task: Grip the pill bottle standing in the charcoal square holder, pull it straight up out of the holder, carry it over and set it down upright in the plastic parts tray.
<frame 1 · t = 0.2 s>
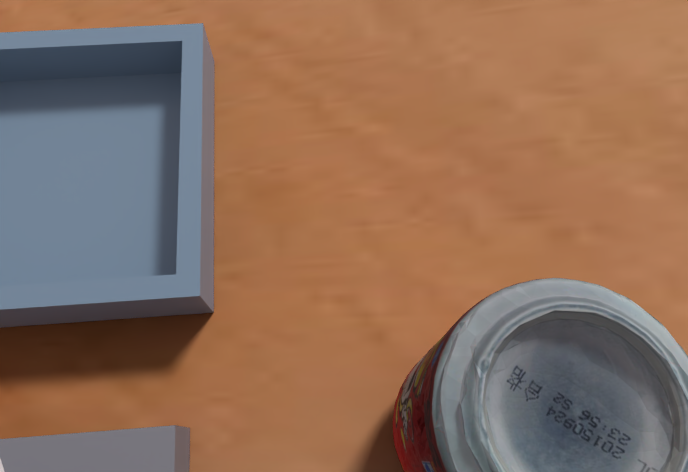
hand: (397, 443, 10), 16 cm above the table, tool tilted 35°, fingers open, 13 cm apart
parts tray: (72, 184, 29), on the table
soda can: (467, 430, 25), on the table
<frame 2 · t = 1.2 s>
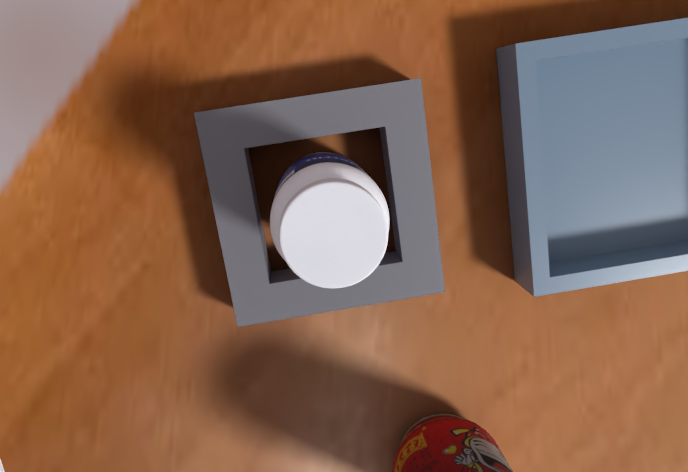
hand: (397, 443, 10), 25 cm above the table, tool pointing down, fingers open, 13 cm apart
parts tray: (619, 152, 35), on the table
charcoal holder: (323, 199, 34), on the table
soda can: (439, 449, 39), on the table
pill bottle: (323, 198, 34), resting in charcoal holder
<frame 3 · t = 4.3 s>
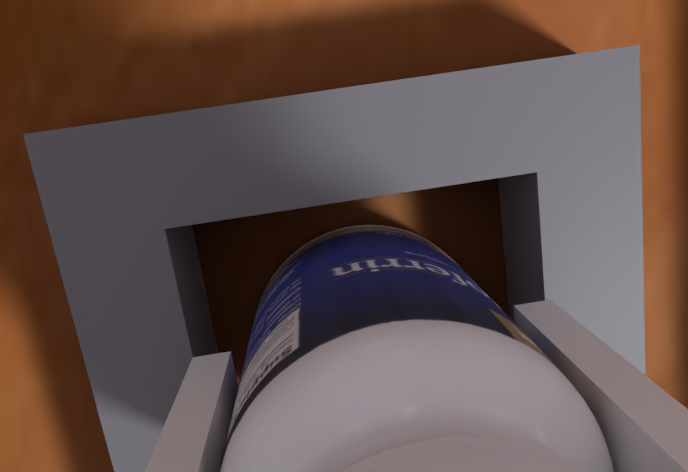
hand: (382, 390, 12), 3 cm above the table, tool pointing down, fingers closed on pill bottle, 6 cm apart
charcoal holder: (364, 327, 15), on the table
pill bottle: (363, 324, 15), resting in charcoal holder, touching gripper
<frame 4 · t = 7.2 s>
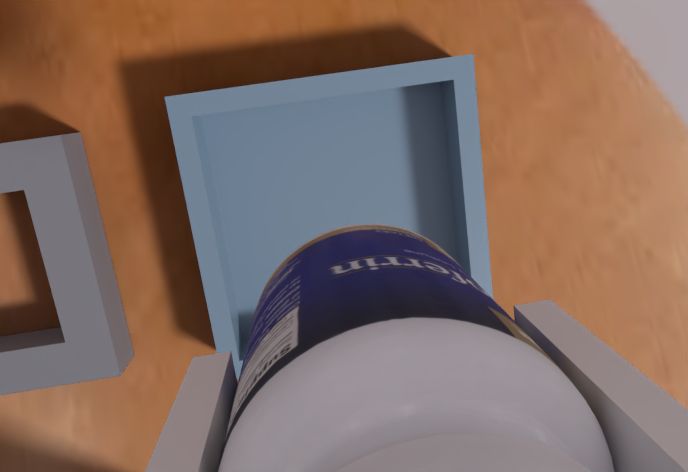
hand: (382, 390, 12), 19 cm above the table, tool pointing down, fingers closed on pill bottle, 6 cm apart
parts tray: (337, 214, 30), on the table
pill bottle: (363, 322, 15), point 16 cm above the table, touching gripper
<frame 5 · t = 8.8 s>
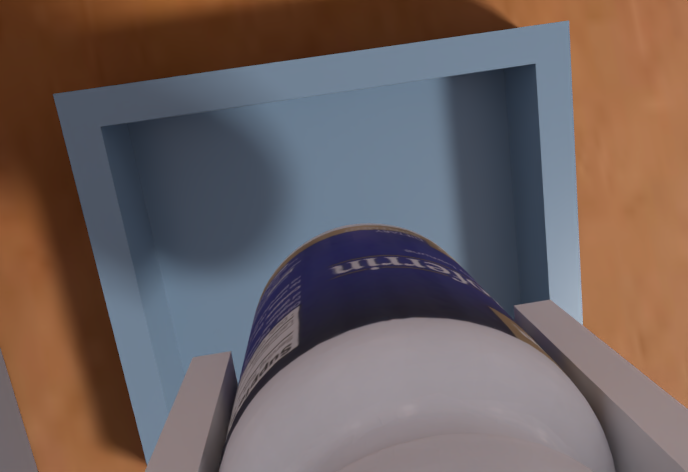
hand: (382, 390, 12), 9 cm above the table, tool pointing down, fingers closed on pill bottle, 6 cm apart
parts tray: (343, 271, 20), on the table
pill bottle: (363, 322, 15), point 5 cm above the table, touching gripper
when the fingers open (5 cm above the table, at t = 10.1 s): pill bottle drops 1 cm, resting on parts tray.
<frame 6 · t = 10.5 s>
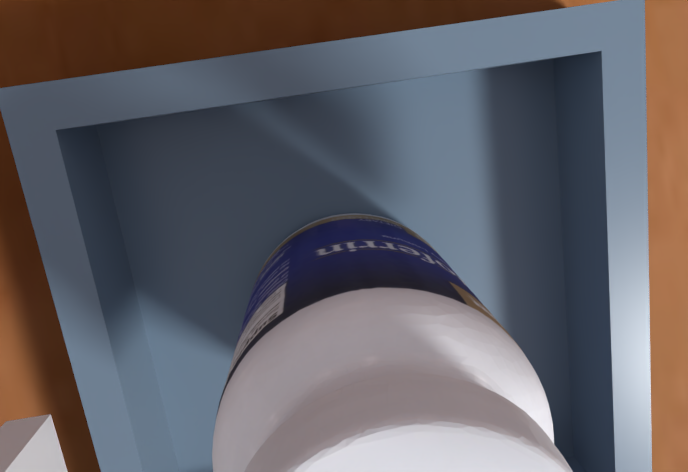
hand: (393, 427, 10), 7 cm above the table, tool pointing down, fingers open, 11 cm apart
parts tray: (357, 301, 17), on the table
pill bottle: (350, 304, 17), resting on parts tray
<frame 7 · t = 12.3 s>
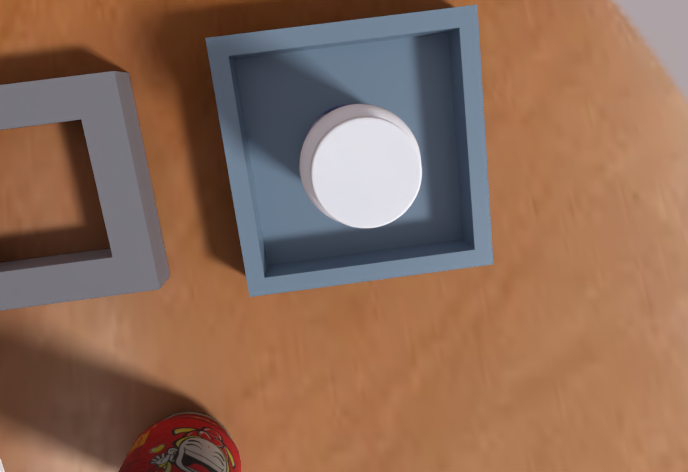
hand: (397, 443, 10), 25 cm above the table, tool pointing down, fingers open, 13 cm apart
parts tray: (353, 152, 34), on the table
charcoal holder: (47, 191, 33), on the table
soda can: (191, 448, 38), on the table
pill bottle: (350, 152, 34), resting on parts tray
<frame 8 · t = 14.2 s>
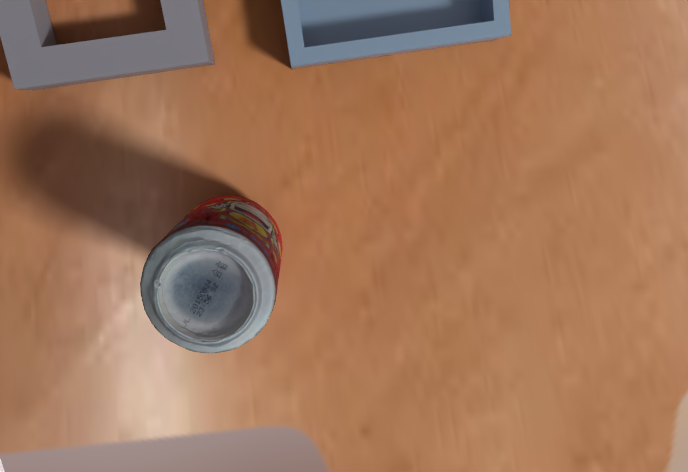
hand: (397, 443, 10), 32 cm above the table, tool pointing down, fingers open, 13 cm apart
soda can: (233, 239, 41), on the table
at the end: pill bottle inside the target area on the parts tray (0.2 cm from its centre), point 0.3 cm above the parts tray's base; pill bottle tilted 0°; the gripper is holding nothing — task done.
